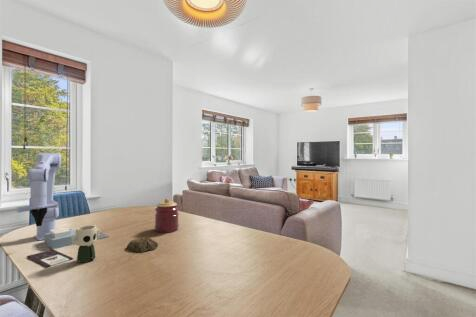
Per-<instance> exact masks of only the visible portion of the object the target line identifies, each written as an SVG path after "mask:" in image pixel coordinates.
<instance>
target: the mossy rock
mask: <svg viewBox="0 0 476 317" xmlns="http://www.w3.org/2000/svg"><path fill="white" fill-rule="evenodd" d="M158 246H159V243H158V242H156V241H155V240H154V239H152V238H150V237H146V236H145V237H144V236H141V237H137V238H134V239H132V240H130V241H129V242H128V244H127V245H126V249H128V251H131V252H135V253H144V252H147V251H155V250H156V249H157V247H158Z"/></svg>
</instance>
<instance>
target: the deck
mask: <svg viewBox="0 0 476 317" xmlns="http://www.w3.org/2000/svg"><path fill="white" fill-rule="evenodd" d="M67 229H68V230H70V235H68V236H63V237H59V238H54V237H53V236H51V235H50V233H46V234H44V243H45V244H46V245H47V246H48V247H49V248H51V249H53V250H55V249H56V250H57V249H60V248H64V246H65V247H67V246H72V245H76V243H75V244H72V236H73V235H76V230H73V229H72V228H67ZM75 241H76V237H75Z"/></svg>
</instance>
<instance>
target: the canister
mask: <svg viewBox="0 0 476 317" xmlns="http://www.w3.org/2000/svg"><path fill="white" fill-rule="evenodd" d="M179 209H180V208H179V207H178V203H176V202H175V201H173V200H170V198H168V197H166V198H165V199H164V201H160V202H158V203H157V204H156V207H155V208H154V211H155V214H154V217H155V218H154V222H155V223H154V231H156V232H157V233H172V232H175V231H178V230H179V226H180V225H179Z"/></svg>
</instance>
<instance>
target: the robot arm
mask: <svg viewBox="0 0 476 317" xmlns="http://www.w3.org/2000/svg"><path fill="white" fill-rule="evenodd" d="M36 162H37V163H36V164H35V165H34V167H33V168H31V169H30V170H29V171H28V173H27V175H28V177H27V178H28V182H29V183H28V184H29V186H30V192H29V193H30V195H29V196H30V205H26V206H25V205H24V206H20V207H16V212H17V213H22V212H30V214H31V215H32V218H33V220H34V222H35V226H36V235H34V236H33V237H34V238H35V240H37V241H43V240H44V234H46V233H50V230H52V229H56V219H58V218H59V215H60V209H59V208H60V207H59V206H60V205H59V202H57V201H56V200H54V192H55V191H54V189H55V181H56V180H55V178H56V173H57V171H59V170H60V169H61V166H62V154H61V152H38V153H37V154H36Z"/></svg>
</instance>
